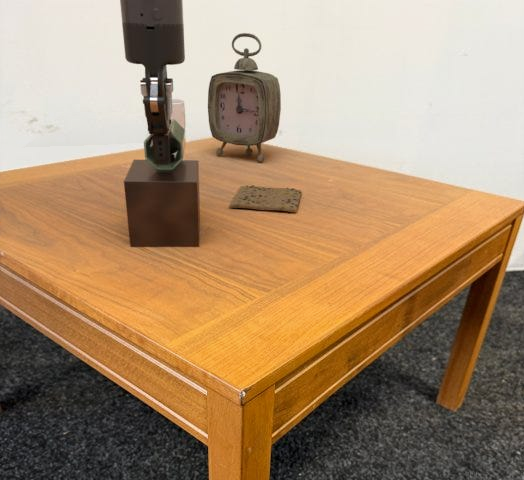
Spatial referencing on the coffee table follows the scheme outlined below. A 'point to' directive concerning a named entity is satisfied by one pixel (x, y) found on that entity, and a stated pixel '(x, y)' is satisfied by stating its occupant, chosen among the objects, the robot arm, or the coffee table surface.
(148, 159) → the cup
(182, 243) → the block
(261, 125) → the tabletop clock
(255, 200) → the cookie
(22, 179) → the coffee table surface
